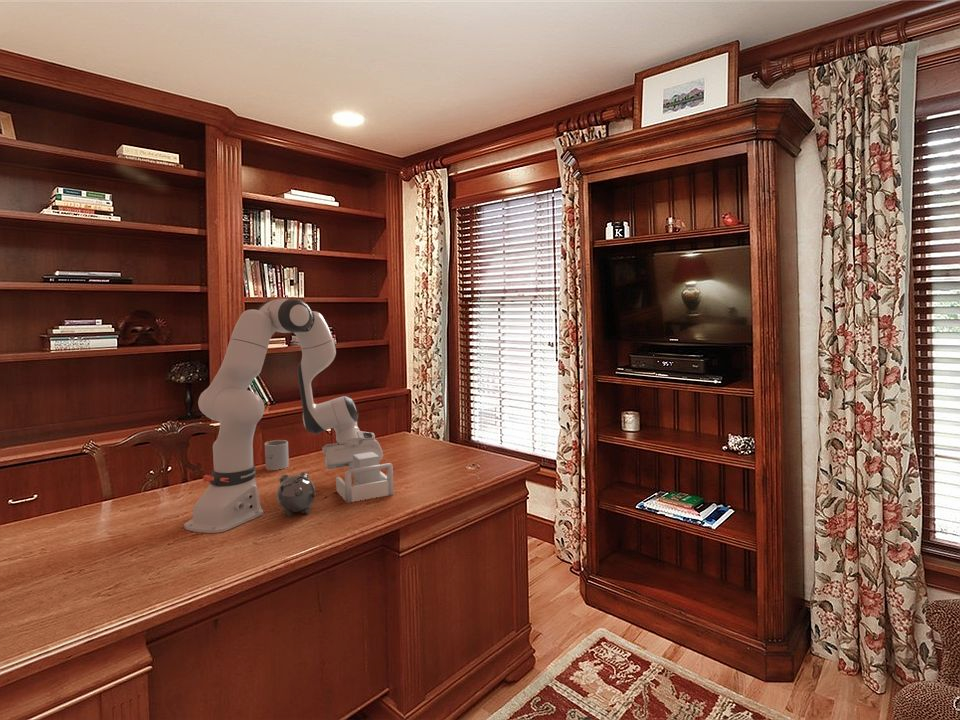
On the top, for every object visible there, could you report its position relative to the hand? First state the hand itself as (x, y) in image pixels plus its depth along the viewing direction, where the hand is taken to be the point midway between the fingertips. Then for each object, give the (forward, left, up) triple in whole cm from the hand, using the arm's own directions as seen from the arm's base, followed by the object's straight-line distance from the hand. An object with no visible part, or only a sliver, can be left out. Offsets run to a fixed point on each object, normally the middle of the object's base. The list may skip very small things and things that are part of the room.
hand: (359, 474), depth 185 cm
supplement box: (-2, -4, -5) cm, 7 cm away
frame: (-3, -3, -5) cm, 7 cm away
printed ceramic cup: (+16, +45, -5) cm, 48 cm away
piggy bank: (-24, +9, -5) cm, 26 cm away
